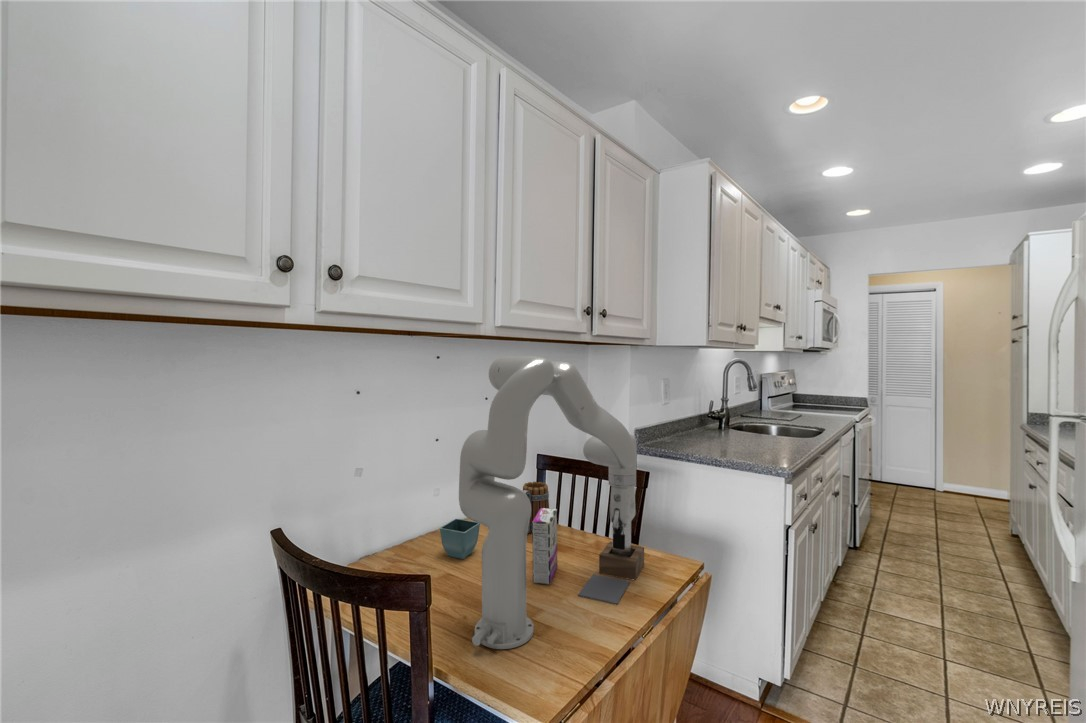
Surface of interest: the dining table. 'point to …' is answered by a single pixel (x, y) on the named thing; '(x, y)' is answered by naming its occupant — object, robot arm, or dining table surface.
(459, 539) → the flower pot
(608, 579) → the rubber mat
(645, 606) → the dining table surface
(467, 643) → the dining table surface
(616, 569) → the eye block
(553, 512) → the candy bar box
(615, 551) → the metal peg
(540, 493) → the mug
